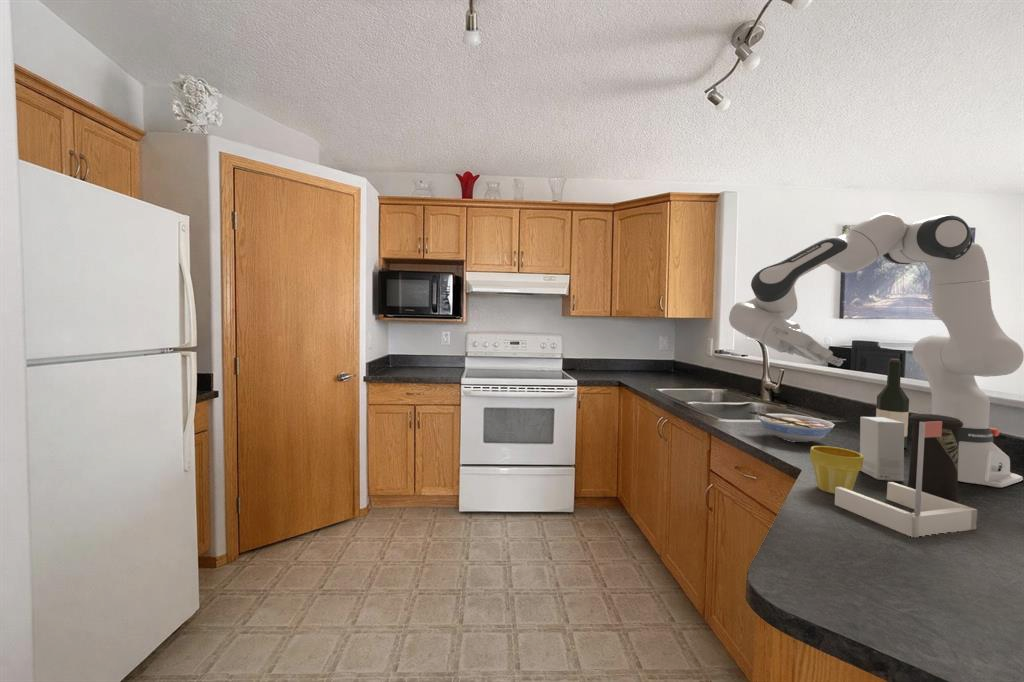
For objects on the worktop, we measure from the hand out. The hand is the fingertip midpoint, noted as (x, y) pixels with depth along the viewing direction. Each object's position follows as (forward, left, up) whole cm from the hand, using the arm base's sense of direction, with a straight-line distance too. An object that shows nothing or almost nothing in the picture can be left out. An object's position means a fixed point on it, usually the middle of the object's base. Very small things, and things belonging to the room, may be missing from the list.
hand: (836, 359), depth 110 cm
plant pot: (+3, +4, -32) cm, 33 cm away
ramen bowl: (-29, -37, -32) cm, 57 cm away
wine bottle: (-57, -25, -32) cm, 70 cm away
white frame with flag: (+3, +18, -32) cm, 37 cm away
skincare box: (-20, -2, -32) cm, 38 cm away
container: (-15, +13, -32) cm, 38 cm away
